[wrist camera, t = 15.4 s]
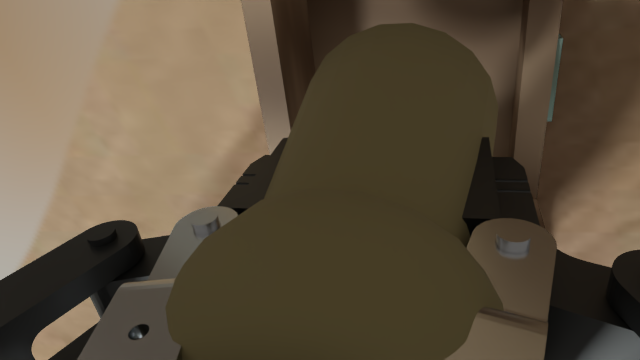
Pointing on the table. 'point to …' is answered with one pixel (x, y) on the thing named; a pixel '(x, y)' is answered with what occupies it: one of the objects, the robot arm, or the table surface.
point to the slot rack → (430, 11)
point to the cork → (355, 217)
